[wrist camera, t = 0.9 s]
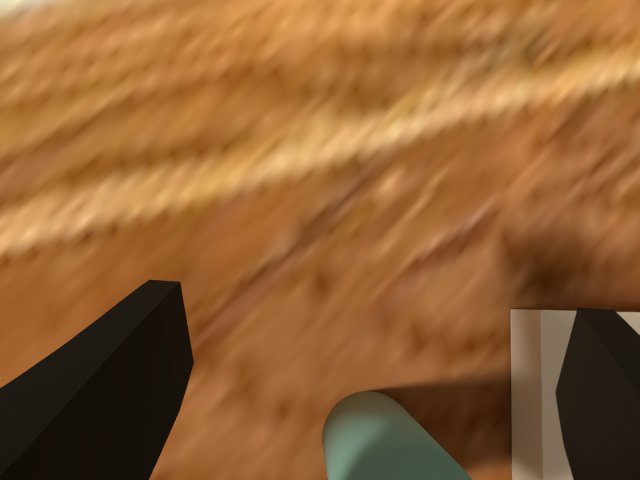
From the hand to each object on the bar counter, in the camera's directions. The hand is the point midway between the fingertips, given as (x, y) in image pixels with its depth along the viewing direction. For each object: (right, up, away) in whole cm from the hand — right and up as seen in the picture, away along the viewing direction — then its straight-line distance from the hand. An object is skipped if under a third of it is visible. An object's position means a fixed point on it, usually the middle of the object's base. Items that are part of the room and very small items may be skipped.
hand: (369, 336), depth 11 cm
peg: (+1, -6, +12) cm, 13 cm away
